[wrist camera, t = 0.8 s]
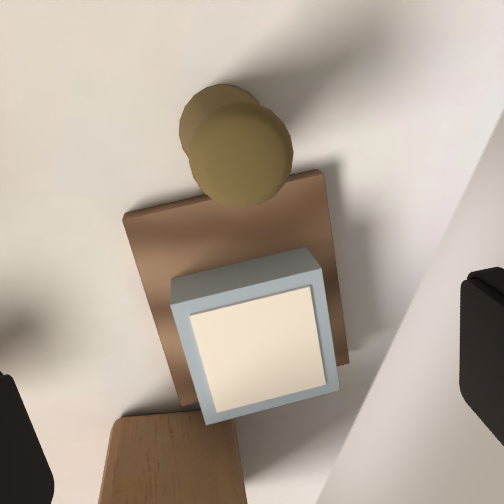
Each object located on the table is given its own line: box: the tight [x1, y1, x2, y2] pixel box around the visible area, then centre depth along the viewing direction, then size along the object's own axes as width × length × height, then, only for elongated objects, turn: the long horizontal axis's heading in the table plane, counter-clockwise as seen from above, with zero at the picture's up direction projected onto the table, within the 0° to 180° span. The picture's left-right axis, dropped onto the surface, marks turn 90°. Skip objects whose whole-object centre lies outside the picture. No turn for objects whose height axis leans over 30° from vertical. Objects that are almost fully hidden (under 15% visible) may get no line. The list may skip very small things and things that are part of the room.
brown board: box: [122, 169, 349, 406], centre depth 36 cm, size 16×14×2 cm
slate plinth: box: [170, 247, 340, 425], centre depth 34 cm, size 10×10×4 cm
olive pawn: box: [179, 84, 293, 208], centre depth 27 cm, size 6×6×11 cm
